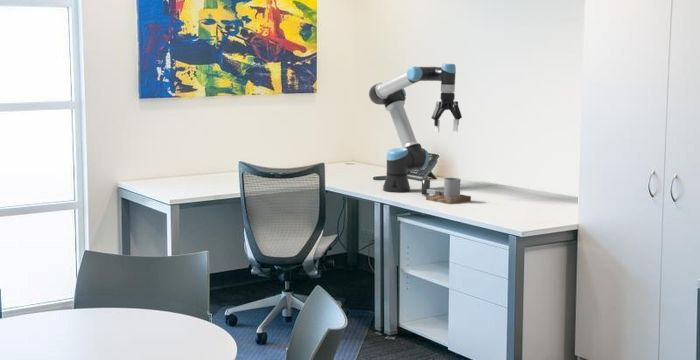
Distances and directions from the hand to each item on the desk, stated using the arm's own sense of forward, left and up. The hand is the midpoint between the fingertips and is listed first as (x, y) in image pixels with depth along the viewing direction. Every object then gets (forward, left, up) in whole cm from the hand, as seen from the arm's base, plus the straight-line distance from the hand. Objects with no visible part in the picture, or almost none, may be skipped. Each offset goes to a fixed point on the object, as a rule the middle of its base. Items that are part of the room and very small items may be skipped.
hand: (446, 131), depth 487 cm
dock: (+17, -14, -34) cm, 41 cm away
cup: (+19, -13, -33) cm, 40 cm away
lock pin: (+4, -13, -34) cm, 36 cm away
